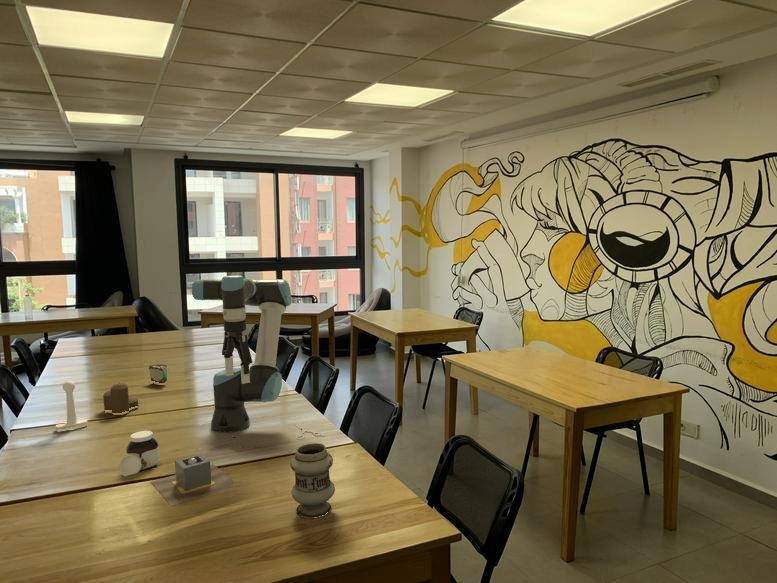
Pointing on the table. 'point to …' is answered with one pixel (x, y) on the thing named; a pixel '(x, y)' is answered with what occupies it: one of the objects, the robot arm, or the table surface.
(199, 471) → the collar
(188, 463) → the steel post
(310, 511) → the apothecary jar
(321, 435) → the scissors
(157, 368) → the food container
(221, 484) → the base plate
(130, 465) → the spread jar
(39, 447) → the table surface
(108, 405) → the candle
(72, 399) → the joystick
